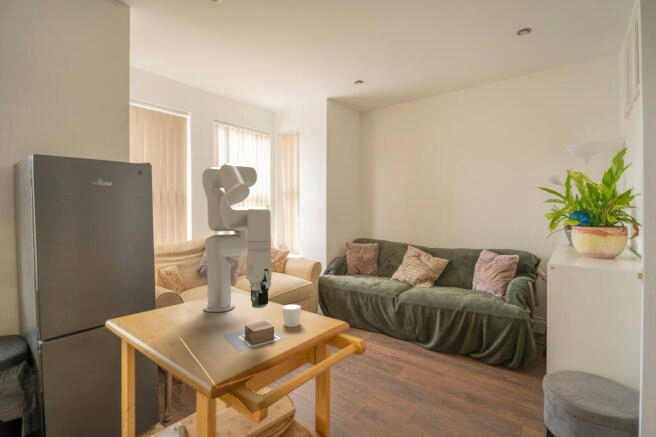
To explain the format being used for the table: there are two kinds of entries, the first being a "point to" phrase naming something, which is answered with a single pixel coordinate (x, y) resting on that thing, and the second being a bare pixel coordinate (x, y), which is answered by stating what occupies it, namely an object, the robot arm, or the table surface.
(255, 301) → the pill bottle
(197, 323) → the table surface
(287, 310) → the white cylinder
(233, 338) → the blueprint board
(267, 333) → the walnut base block
